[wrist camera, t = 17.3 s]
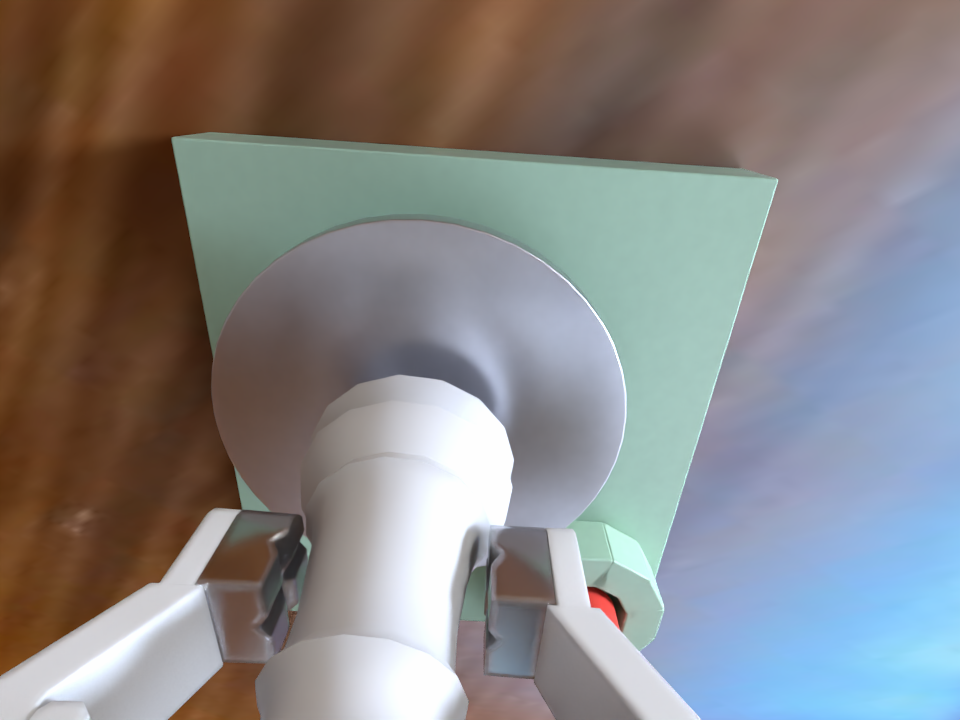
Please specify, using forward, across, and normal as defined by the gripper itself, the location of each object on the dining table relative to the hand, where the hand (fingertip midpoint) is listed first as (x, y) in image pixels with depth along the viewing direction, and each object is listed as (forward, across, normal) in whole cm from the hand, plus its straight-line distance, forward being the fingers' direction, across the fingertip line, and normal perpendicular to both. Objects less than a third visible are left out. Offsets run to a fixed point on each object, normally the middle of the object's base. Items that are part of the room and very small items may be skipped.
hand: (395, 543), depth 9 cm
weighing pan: (+4, 0, 0) cm, 4 cm away
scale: (+8, -1, +2) cm, 8 cm away
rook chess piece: (+3, 0, 0) cm, 3 cm away
